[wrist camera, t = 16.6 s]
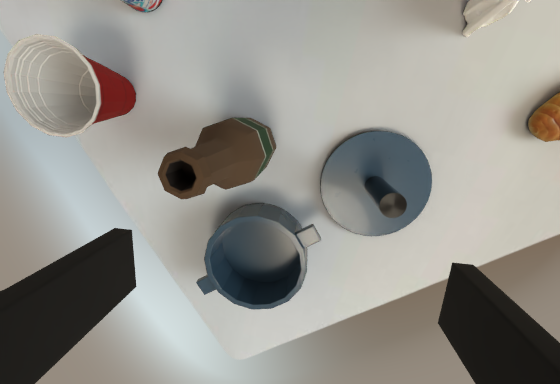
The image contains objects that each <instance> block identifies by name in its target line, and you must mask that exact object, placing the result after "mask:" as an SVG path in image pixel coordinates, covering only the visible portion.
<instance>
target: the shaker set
mask: <svg viewBox="0 0 560 384" xmlns="http://www.w3.org/2000/svg"><path fill="white" fill-rule="evenodd" d="M518 1H519V0H470V1H469V2H467V5H466V6H465V7H466V8H465V11H464V13H463V15H464V16H465V20H466V21H467V23H468V24H467V26H466V28H465V29H464V30H463V35H464V36H466V37H469V35H470V34H472V33H473V32H474V31H476V30H477V29H478V28H480V27H481V28H482V27H486V26H488V25H490V24H492V23H494V22H496V21H498V20H500V19H501V18H503V17H505V16H507V15H508V14H509V13H511V12H512V10H513V9H514V8H515V6H516V5H517V3H518ZM525 1H527V2H531V1H532V0H525Z"/></svg>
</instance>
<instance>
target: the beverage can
mask: <svg viewBox="0 0 560 384" xmlns="http://www.w3.org/2000/svg"><path fill="white" fill-rule="evenodd" d="M121 1H123V2H124V3H126V4H127V5H129V6H131V7H132V8H134V9H136V10H138V11H141V12H150V11H153V10H155V9H156V8H158V7H159V5H160V4H161V3H162V0H121Z"/></svg>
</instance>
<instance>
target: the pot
mask: <svg viewBox="0 0 560 384" xmlns="http://www.w3.org/2000/svg"><path fill="white" fill-rule="evenodd" d="M319 241H321V237H320V235H319V234H318V232H317V230H316V228H315V226H314V225H313V224H311V225H309V226H307V227H305V228H303V229H302V227H301V226H300V224H299V223H298V221H297V220H296V219H295V218H294V217H293V216H292V215H291V214H290V213H288V212H287V211H285V210H283V209H282V208H280V207H277V206H274V205H270V204H265V203H255V204H249V205H245V206H243V207H241V208H239V209H237V210H236V211H234V212H232V213H231V214H230V215H229V216H228V217H227V218H226V219H225V221H224V222H223V223H222V224H221V225H220V227H219V228H218V229H217V230H216V232H215V233H214V234H213V236H212V237H211V238H210V239H209V241H208V244H207V249H206V253H205V259H204V260H205V265H206V269H207V274H208V275H206V276H204V277H202V278H200V279H198V281H197V282H196V283H197V284H198V286H199V287H200V289H201V290H202V292H203V293H204V295H205V294H207V293H209V292H212V291H214V290H216V289H217V291H218V292H219V293H220V294H221V295H223V296H224V297H226V298H227V299H228V300H230V301H231V302H232V303H234V304H237V305H240V306H243V307H246V308H249V309H271V308H274V307H276V306H278V305H281V304H283V303H285V302H288V301H289V300H290V299H291V298H292V297H293V296H294V295H295V294H296V293H297V292H298V291H299V290H300V289H301V287H302V284H303V281H304V278H305V275H306V272H307V247H308V246H310V245H312V244H314V243H316V242H319Z"/></svg>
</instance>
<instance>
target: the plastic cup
mask: <svg viewBox="0 0 560 384" xmlns="http://www.w3.org/2000/svg"><path fill="white" fill-rule="evenodd" d="M4 78H5V84H6V90H7V93H8V95H9V97H10V99H11V101H12V103H13V105H14V107H15V108H16V110H17V112H18V113H19V114H20V115H21V116H22V117H23V118H24V119H25V120H26V121H27V122H28V123H29V124H30V125H31V126H33V127H34V128H37V129H38V130H40V131H42V132H44V133H46V134H48V135H53V136H60V137H70V136H73V135H76V134H80V133H83V132H84V131H85V130H86V129H87V128H88V127H89V126H90V125H91V124H94V123H97V122H100V121H104V120H107V119H111V118H114V117H117V116H121V115H124V114H127V113H128V112H129V111H130V110H131V109H132V108H133V107H134V104H135V102H136V93H135V90H134V88H133V86H132V84H131V83H130V82H129V81H128V80H127V79H126V78H125V77H123V76H121V75H120V74H118V73H116V72H114V71H112V70H110V69H109V68H107V67H105V66H103V65H101V64H99V63H97V62H95V61H93V60H91V59H89V58H87V57H85V56H84V55H82V54H81V53H80V52H79V51H78V49H76V48H75V47H73V46H71V45H70V44H68V43H66V42H64V41H63V40H61V39H59V38H57V37H55V36H47V35H39V34H35V35H32V36H29V37H27V38H24V39H21V40H19V41H18V42H17V43H16V45H15V46H14V47H13V48H12V49H11V51H10V52H9V53H8V55H7V59H6V64H5V68H4Z"/></svg>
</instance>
